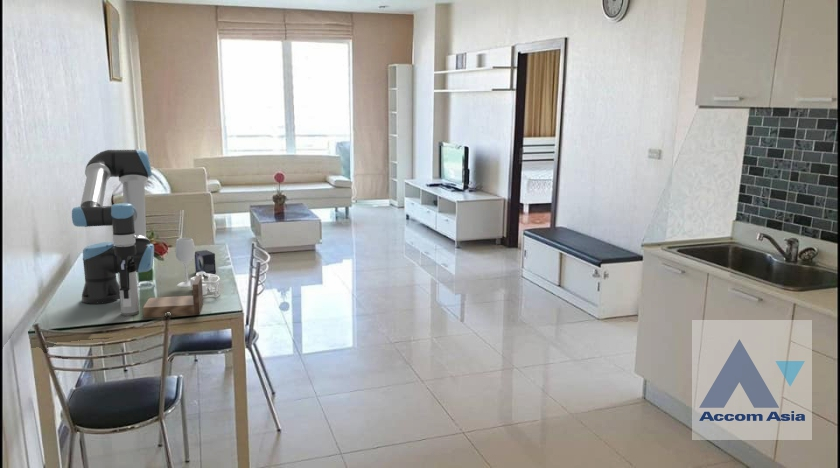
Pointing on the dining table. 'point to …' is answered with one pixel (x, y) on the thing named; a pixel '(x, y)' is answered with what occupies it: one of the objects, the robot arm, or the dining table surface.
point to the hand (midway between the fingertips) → (129, 303)
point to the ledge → (176, 303)
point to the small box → (205, 262)
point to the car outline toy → (209, 282)
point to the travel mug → (134, 292)
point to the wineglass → (185, 256)
